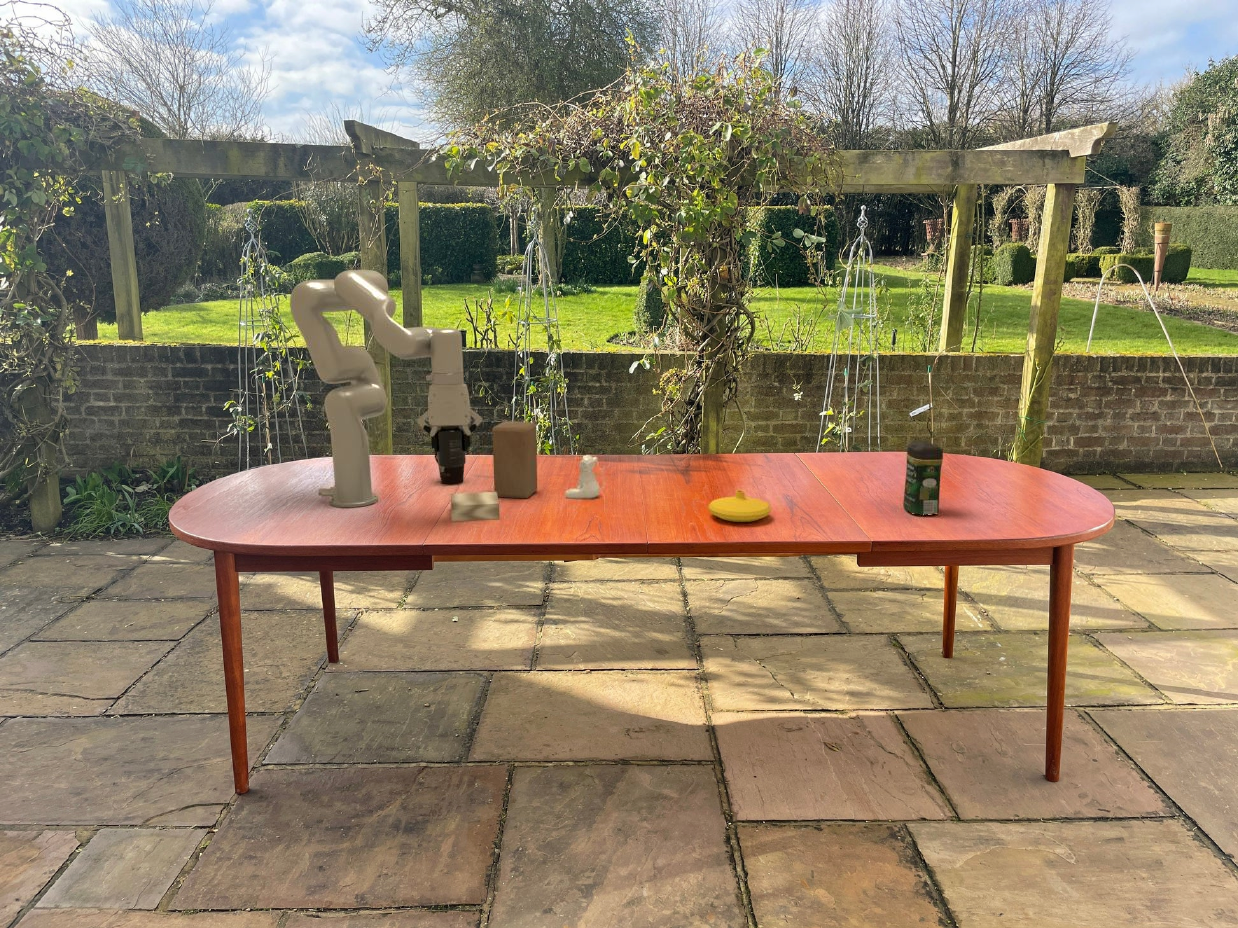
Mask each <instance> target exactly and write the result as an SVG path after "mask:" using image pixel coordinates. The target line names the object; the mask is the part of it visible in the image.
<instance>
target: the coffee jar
mask: <svg viewBox="0 0 1238 928" xmlns="http://www.w3.org/2000/svg"><path fill="white" fill-rule="evenodd" d="M943 460H944V450H943V448H941V447H940V446H938V445H936V444H934V443H932V442H929V441H928V440H913V441H911V442H910V443H909V444H908V445H907V449H906V469H905V470H906V471H905V480H904V481H905V483H904V494H903V503H902V504H903V508H904V510H905V509H906V510H905V511H906V512H908V511H909V512H910V513H909V512H908V513H909V514H911V513H914V514H920V515H919V516H921V515H923V514H924V515H928V514H935V513H938V514H939V513H940V512H939V511H940V509H939V508H940V490H941V489H940V488H941V474H942V473H941V472H942V467H943V466H942V465H943Z"/></svg>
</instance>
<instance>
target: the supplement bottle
mask: <svg viewBox="0 0 1238 928" xmlns="http://www.w3.org/2000/svg"><path fill="white" fill-rule="evenodd" d="M464 434H465V431H464V429H463V427H461V426H441V427H440V428H437V431H436V436H437V448H438V463H437V465H438V464H439V466H441V467H458V466H462V465H464V466H465V464H466V463H467V462H466V461H467V460H466V451H465V446H464ZM439 466H438V467H439Z"/></svg>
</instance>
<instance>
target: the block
mask: <svg viewBox="0 0 1238 928" xmlns="http://www.w3.org/2000/svg"><path fill="white" fill-rule="evenodd" d="M537 449H538V448H537V425H536V423H534V422H532V421H531V422H530V421H508V420H507V421H503V422H500V423H499V424H497V425H495V426H493V427H492V455H493V457H492V458H493V460H492V462H493V483H494V484H493V489H494V490H493V492H497V496H498V498H507V499H508V498H510V499H511V498H512V499H528V498H529V497H531V496H532V495H534V493H535V492H537V490H538V460H537V459H538V456H537V454H538V453H537Z"/></svg>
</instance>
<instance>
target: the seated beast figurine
mask: <svg viewBox="0 0 1238 928" xmlns="http://www.w3.org/2000/svg"><path fill="white" fill-rule="evenodd" d="M597 461H598V457H597V456H594V457H593V456H592V455H590V454H586V455H583V456H582V459H581V460H580V462H579V465H578V468H579V472H580V473H579V477H578V482H577V486H576V487H575V488H569V489H567V490H565V498H566V499H579V500H581V499H582V500H583V499H585V500H589V499H595V498H597V497H599V494H600V491H601V486H600V484H599V483H598V481H597V479H596V478H597V477H596V475H595V474H596V473H595V471H594V470H593V469H594V467H595V466H596V462H597Z"/></svg>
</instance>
